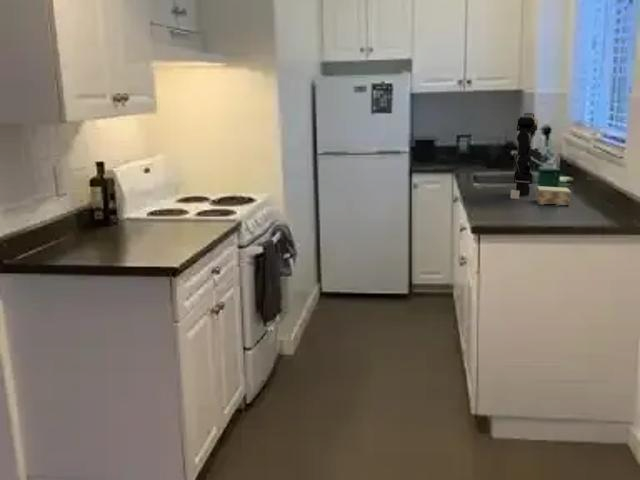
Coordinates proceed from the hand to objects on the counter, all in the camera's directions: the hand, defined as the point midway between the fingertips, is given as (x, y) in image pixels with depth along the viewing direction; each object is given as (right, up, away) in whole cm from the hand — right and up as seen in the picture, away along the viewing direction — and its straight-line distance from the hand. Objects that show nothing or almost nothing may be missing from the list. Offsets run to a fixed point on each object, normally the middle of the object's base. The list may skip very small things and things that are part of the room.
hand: (521, 174), depth 340 cm
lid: (+12, -8, -10) cm, 18 cm away
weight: (-2, -11, +4) cm, 12 cm away
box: (+12, -14, -9) cm, 21 cm away
